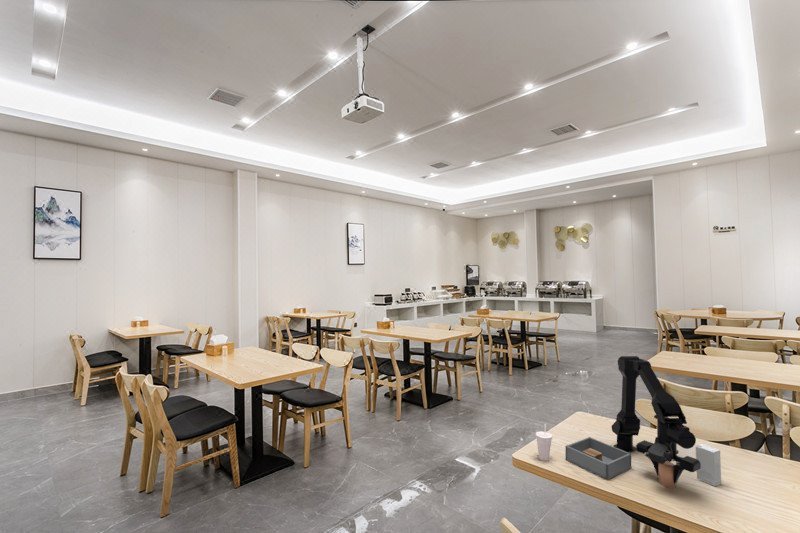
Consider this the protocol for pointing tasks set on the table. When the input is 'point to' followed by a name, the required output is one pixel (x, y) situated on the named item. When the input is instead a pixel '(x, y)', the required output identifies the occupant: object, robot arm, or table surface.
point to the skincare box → (709, 464)
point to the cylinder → (666, 474)
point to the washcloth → (686, 451)
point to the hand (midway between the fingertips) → (666, 479)
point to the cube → (593, 453)
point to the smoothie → (543, 444)
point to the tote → (607, 468)
